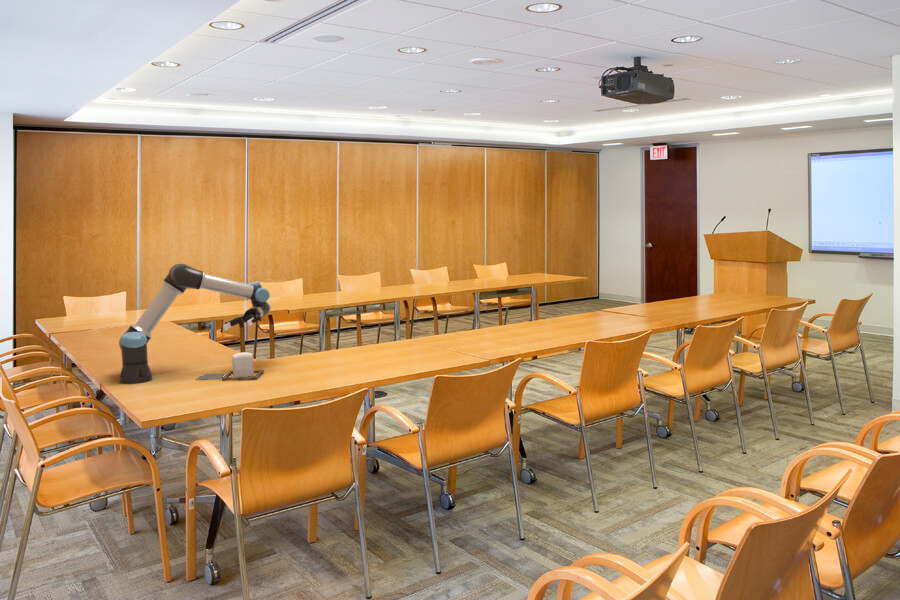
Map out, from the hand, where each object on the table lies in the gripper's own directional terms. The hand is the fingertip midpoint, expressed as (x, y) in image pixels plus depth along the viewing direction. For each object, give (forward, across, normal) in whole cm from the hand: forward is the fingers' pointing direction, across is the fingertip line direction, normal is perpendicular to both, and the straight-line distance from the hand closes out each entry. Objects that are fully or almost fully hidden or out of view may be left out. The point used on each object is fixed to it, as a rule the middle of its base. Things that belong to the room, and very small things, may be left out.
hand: (236, 326), depth 373 cm
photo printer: (+9, 0, -25) cm, 26 cm away
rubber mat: (+12, +15, -21) cm, 28 cm away
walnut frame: (+9, 0, -24) cm, 26 cm away
